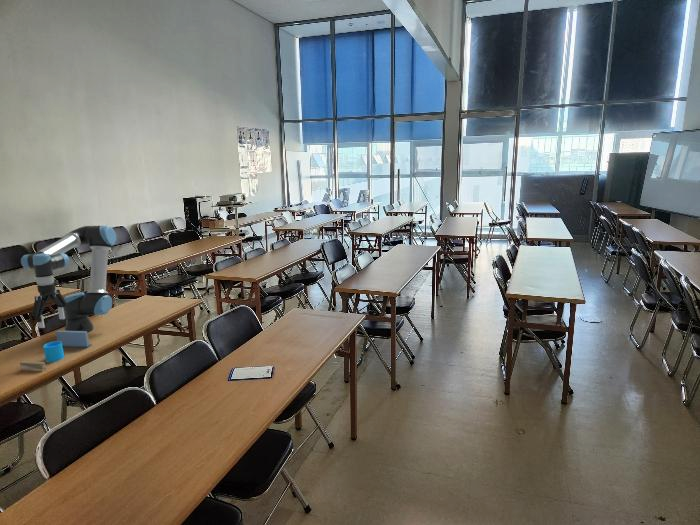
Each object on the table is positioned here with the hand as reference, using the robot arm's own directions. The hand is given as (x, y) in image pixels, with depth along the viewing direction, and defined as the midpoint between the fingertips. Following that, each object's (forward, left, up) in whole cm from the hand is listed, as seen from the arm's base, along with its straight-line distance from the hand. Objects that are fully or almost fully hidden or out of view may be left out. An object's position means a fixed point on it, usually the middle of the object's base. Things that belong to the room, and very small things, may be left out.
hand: (52, 323), depth 235 cm
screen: (-12, -1, -18) cm, 22 cm away
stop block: (+16, 0, -18) cm, 25 cm away
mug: (+2, 0, -19) cm, 19 cm away
